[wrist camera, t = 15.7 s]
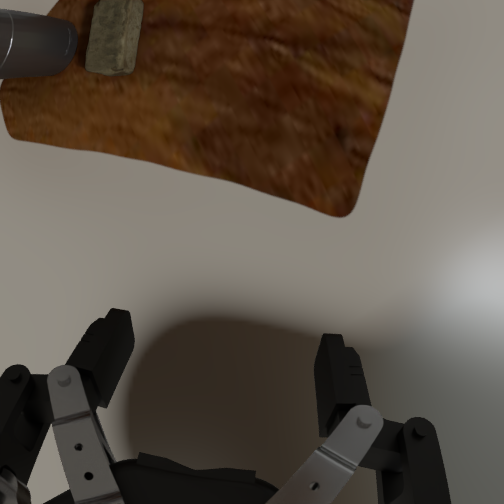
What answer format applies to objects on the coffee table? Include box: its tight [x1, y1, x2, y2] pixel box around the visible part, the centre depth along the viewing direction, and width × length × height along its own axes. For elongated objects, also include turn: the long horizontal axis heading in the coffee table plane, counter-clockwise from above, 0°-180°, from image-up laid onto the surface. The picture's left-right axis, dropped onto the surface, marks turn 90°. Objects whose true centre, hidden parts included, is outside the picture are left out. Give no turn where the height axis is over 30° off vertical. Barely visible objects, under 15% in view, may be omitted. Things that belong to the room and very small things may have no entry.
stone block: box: [85, 0, 143, 76], centre depth 31 cm, size 6×12×5 cm, turn 173°
